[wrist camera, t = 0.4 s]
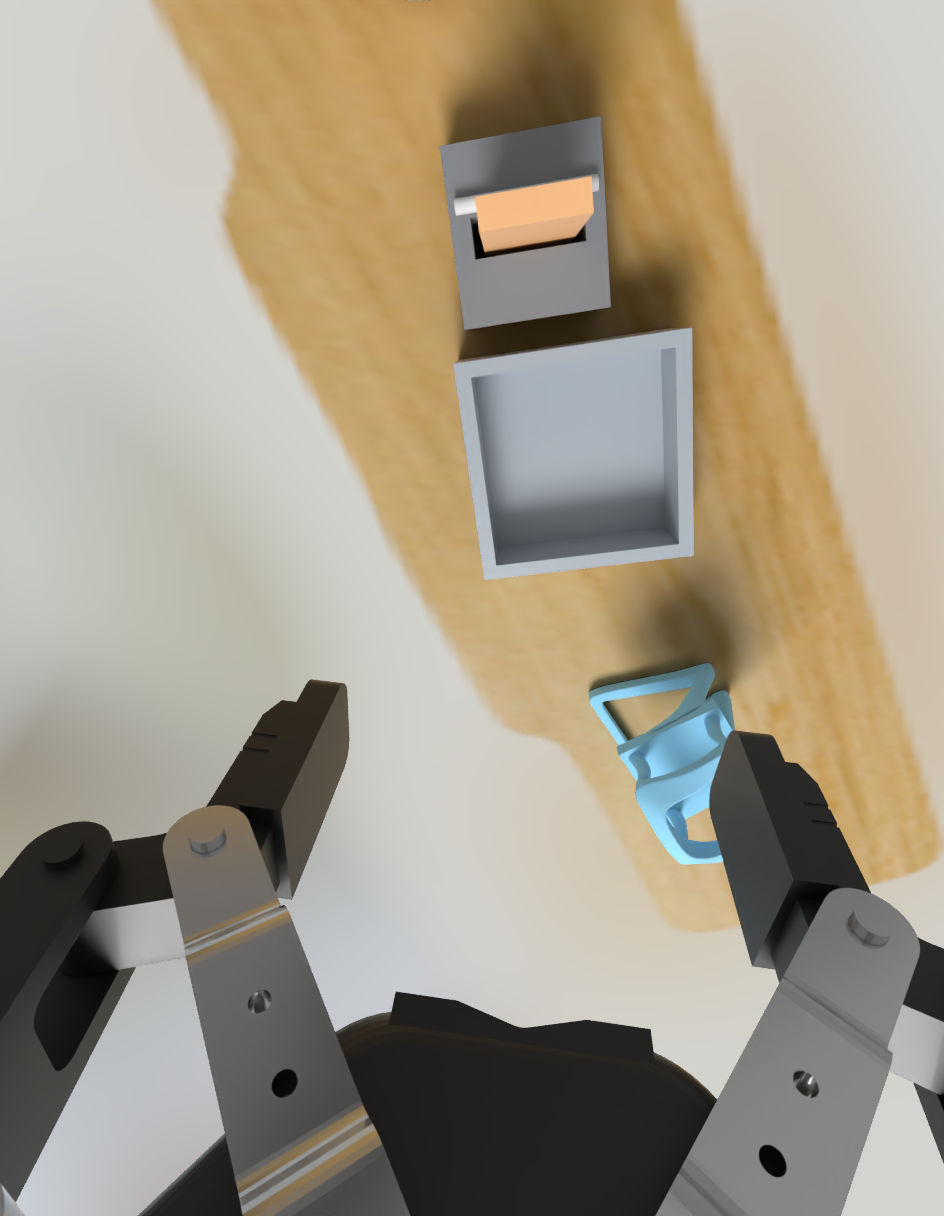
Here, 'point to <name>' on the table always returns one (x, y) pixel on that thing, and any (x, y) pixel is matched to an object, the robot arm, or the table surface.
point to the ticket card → (534, 216)
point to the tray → (581, 452)
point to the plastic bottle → (418, 0)
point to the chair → (674, 755)
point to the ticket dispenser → (536, 275)
